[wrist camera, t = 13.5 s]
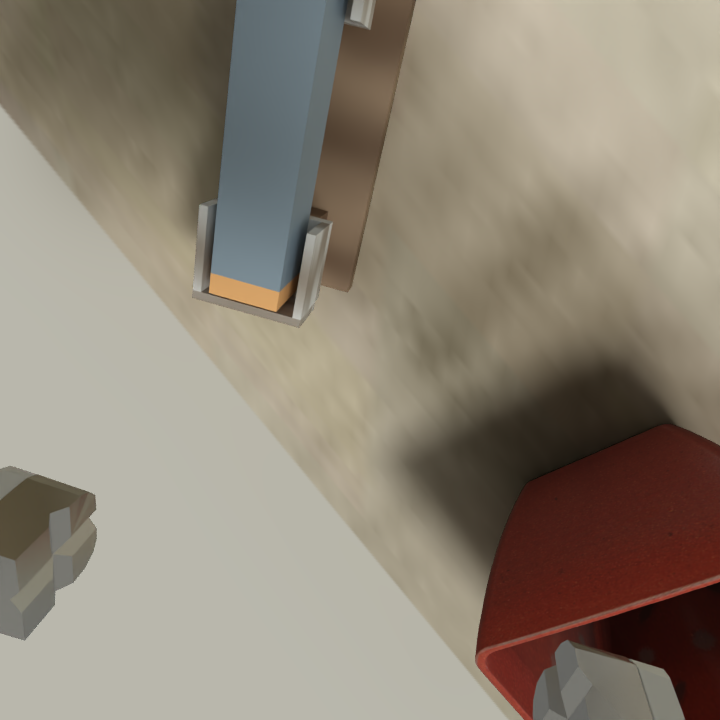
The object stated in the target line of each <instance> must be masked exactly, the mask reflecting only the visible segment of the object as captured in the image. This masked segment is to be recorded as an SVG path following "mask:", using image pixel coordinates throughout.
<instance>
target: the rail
mask: <svg viewBox="0 0 720 720" xmlns="http://www.w3.org/2000/svg"><path fill="white" fill-rule="evenodd" d="M347 3H348V0H237V3H236V13H235V24H234V34H233V45H232V55H231V66H230V76H229V87H228V97H227V108H226V118H225V129H224V139H223V150H222V160H221V171H220V181H219V192H218V202H217V213H216V223H215V234H214V244H213V255H212V265H211V276H210V286H209V293H211V294H215V295H218V296H222V297H225V298H229V299H232V300H236V301H239V302H243V303H246V304H250V305H253V306H257V307H260V308H264V309H267V310H271V311H274V312H277V310H278V309H279V308H280V307H281V306H282V305H283V304H284V303H285V302H286V301H287V300H288V299H289V298H290V297H291V296H292V295H293V294H294V293H295V292H296V290H297V286H298V280H299V274H300V269H301V263H302V257H303V252H304V246H305V240H306V235H307V229H308V223H309V218H310V212H311V207H312V201H313V195H314V190H315V184H316V178H317V173H318V167H319V161H320V156H321V150H322V144H323V139H324V133H325V127H326V122H327V116H328V110H329V105H330V99H331V94H332V88H333V82H334V77H335V71H336V65H337V60H338V54H339V48H340V43H341V37H342V31H343V26H344V20H345V14H346V9H347Z"/></svg>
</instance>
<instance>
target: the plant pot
mask: <svg viewBox="0 0 720 720" xmlns="http://www.w3.org/2000/svg"><path fill="white" fill-rule="evenodd" d="M566 640H570V641H573V642H577V643H580V644H583V645H587V646H590V647H593V648H597V649H600V650H604V651H607V652H610V653H614V654H617V655H620V656H624V657H626V658H628V659H632V660H635V661H639V662H642V663H645V664H648V665H652V666H655V667H658V668H661V669H664V671H665V672H666V673H667V674H668V676H669V677H670V679H671V682H672V685H673V688H674V690H675V693H676V696H677V698H678V701H679V704H680V707H681V709H682V712H683V715H684V718H685V720H720V446H719V445H718V444H716V443H714V442H712V441H710V440H708V439H706V438H704V437H702V436H700V435H697V434H695V433H693V432H691V431H689V430H686V429H684V428H681V427H678V426H676V425H673V424H663V425H660V426H657V427H654V428H652V429H650V430H648V431H645V432H643V433H641V434H639V435H636V436H634V437H631V438H629V439H627V440H624V441H622V442H620V443H618V444H615V445H613V446H611V447H608V448H606V449H604V450H601V451H599V452H597V453H595V454H592V455H590V456H588V457H585V458H583V459H581V460H578V461H576V462H574V463H571V464H569V465H567V466H564V467H562V468H560V469H557V470H555V471H553V472H551V473H548V474H546V475H543V476H541V477H539V478H537V479H534V480H532V481H530V482H528V483H527V484H526V485H525V486H524V488H523V489H522V491H521V493H520V495H519V497H518V499H517V501H516V503H515V505H514V507H513V509H512V511H511V513H510V516H509V518H508V521H507V523H506V526H505V528H504V531H503V533H502V536H501V539H500V542H499V545H498V547H497V551H496V554H495V557H494V561H493V564H492V568H491V572H490V576H489V580H488V584H487V589H486V593H485V598H484V603H483V608H482V614H481V619H480V625H479V631H478V638H477V647H476V656H475V662H476V665H477V666H478V668H479V669H480V670H481V671H482V673H483V674H484V675H485V676H486V677H487V678H488V680H489V681H490V682H491V683H492V684H493V685H494V686H495V687H496V688H497V690H498V691H499V692H500V693H501V694H502V695H503V696H504V697H505V699H506V700H507V701H508V702H509V703H510V704H511V705H512V706H513V708H514V709H515V710H516V711H517V712H518V713H519V714H520V715H521V717H522V718H523V719H524V720H533V699H534V694H535V689H536V685H537V682H538V680H539V678H540V676H541V675H542V673H543V671H544V670H545V669H547V668H550V667H553V666H555V665H556V659H555V652H556V650H557V648H558V647H559V645H560V644H561V643H562V642H564V641H566Z"/></svg>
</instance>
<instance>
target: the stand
mask: <svg viewBox="0 0 720 720" xmlns="http://www.w3.org/2000/svg"><path fill="white" fill-rule="evenodd" d="M415 1H416V0H348V3H347V9H346V14H345V20H344V26H343V31H342V37H341V43H340V48H339V54H338V60H337V65H336V71H335V77H334V82H333V88H332V94H331V99H330V105H329V110H328V116H327V122H326V127H325V133H324V139H323V144H322V150H321V156H320V161H319V167H318V173H317V178H316V184H315V190H314V195H313V201H312V207H311V212H310V218H309V223H308V229H307V235H306V240H305V246H304V252H303V257H302V263H301V269H300V274H299V280H298V286H297V290H296V292H295V293H294V294H293V295H292V296H291V297H290V298H289V299H288V300H287V301H286V302H285V303H284V304H283V305H282V306H281V307H280V308H279V309H278V310H277V312H274V311H271V310H267V309H264V308H260V307H257V306H253V305H250V304H246V303H243V302H239V301H236V300H232V299H229V298H225V297H222V296H218V295H215V294H211V293H209V286H210V276H211V265H212V255H213V244H214V234H215V223H216V213H217V202H218V198H216V199H213V200H210V201H207V202H204V203H202V204H199V216H198V229H197V242H196V255H195V268H194V281H193V294H192V298H195V299H199V300H202V301H206V302H209V303H213V304H216V305H220V306H223V307H227V308H230V309H234V310H237V311H241V312H244V313H248V314H252V315H255V316H259V317H262V318H266V319H269V320H273V321H276V322H280V323H283V324H287V325H290V326H294V327H298V328H299V327H300V326H301V325H302V324H303V322H304V321H305V320H306V318H307V317H308V316H309V315H310V313H311V312H312V311H313V309H314V304H315V301H316V300H317V299H318V296H319V291H320V286H321V285H323V286H326V287H330V288H334V289H337V290H341V291H345V292H348V291H349V290H350V288H351V287H352V283H353V278H354V274H355V269H356V265H357V260H358V256H359V252H360V247H361V243H362V238H363V234H364V229H365V225H366V220H367V216H368V211H369V207H370V202H371V198H372V193H373V189H374V185H375V180H376V176H377V171H378V167H379V162H380V158H381V153H382V149H383V144H384V140H385V135H386V131H387V126H388V122H389V118H390V113H391V109H392V104H393V100H394V95H395V91H396V86H397V82H398V77H399V73H400V68H401V64H402V59H403V55H404V51H405V46H406V42H407V37H408V33H409V28H410V24H411V19H412V15H413V10H414V6H415Z"/></svg>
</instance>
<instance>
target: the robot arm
mask: <svg viewBox="0 0 720 720" xmlns="http://www.w3.org/2000/svg"><path fill="white" fill-rule="evenodd" d="M95 510H96V500H95V495H94V494H92V493H90V492H87V491H85V490H81V489H79V488H76V487H72V486H70V485H67V484H64V483H61V482H58V481H55V480H52V479H49V478H46V477H44V476H41V475H37V474H34V473H31V472H28V471H24V470H22V469H19V468H16V467H12V466H8V467H5V468H2V469H0V633H2V634H5V635H8V636H11V637H15V638H18V639H21V640H26V638H27V637H28V636H29V635H30V634H31V632H32V631H33V630H34V629H35V628H36V627H37V625H38V624H39V623H40V622H41V621H42V619H43V618H44V617H45V616H46V615H47V613H48V612H49V611H50V610H51V609H52V607H53V606H54V605H55V591H56V590H58V589H61V588H63V587H65V586H67V585H69V584H71V583H73V582H74V581H75V580H76V578H77V577H78V576H79V575H80V573H81V572H82V571H83V570H84V568H85V567H86V565H87V563H88V561H89V559H90V557H91V555H92V553H93V551H94V547H95V543H96V539H97V538H96V537H97V534H96V533H97V532H96V531H97V529H96V527H95V525H94V524H93V523H92V521H91V520H90V518H89V517H90V515H91V514H92V513H93V512H94V511H95ZM555 659H556V665H555V666H553V667H550V668H547V669H545V670H544V671H543V673H542V675H541V676H540V678H539V680H538V682H537V685H536V689H535V694H534V699H533V720H685V718H684V715H683V712H682V709H681V707H680V704H679V701H678V698H677V696H676V693H675V690H674V688H673V685H672V682H671V679H670V677H669V676H668V674H667V673H666V672H665V671H664V669H661V668H658V667H655V666H652V665H648V664H645V663H642V662H639V661H635V660H632V659H628V658H626V657H624V656H620V655H617V654H614V653H610V652H607V651H604V650H600V649H597V648H593V647H590V646H587V645H583V644H580V643H577V642H573V641H570V640H566V641H564V642H562V643H561V644H560V645H559V647H558V648H557V650H556V652H555Z"/></svg>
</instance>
